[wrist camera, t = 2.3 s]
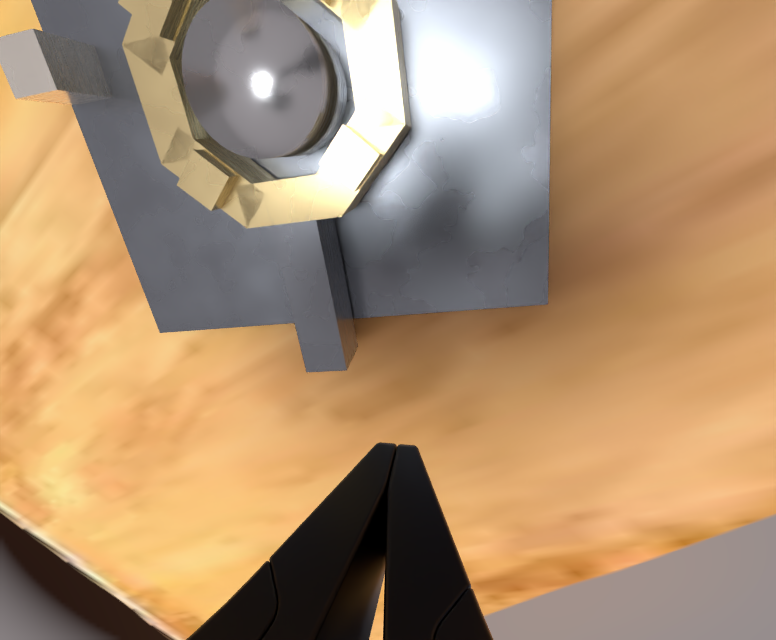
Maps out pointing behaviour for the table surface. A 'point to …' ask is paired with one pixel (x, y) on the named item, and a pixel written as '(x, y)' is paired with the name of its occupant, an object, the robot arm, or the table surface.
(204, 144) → the ring nut
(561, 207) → the table surface
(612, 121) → the table surface
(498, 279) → the cap plate
